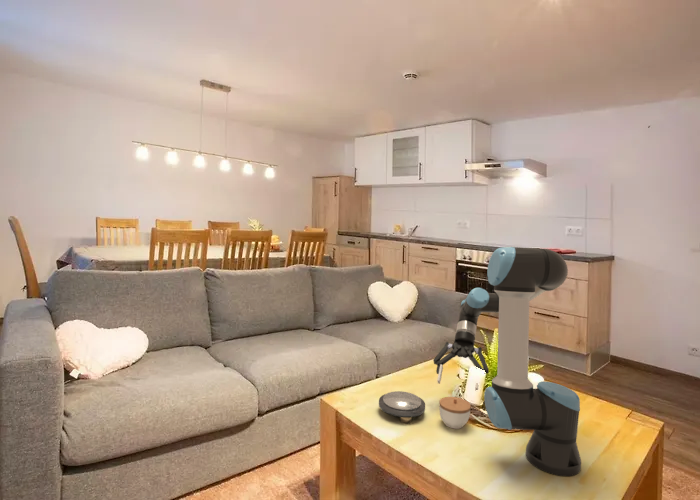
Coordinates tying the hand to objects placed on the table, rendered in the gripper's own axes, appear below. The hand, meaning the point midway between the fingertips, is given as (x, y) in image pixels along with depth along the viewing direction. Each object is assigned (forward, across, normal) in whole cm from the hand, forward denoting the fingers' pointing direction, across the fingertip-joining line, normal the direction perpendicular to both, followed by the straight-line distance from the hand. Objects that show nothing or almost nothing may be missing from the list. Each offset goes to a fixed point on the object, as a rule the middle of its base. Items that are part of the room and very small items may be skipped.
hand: (457, 385), depth 153 cm
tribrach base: (+13, +18, -3) cm, 23 cm away
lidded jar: (+13, 0, -3) cm, 14 cm away
